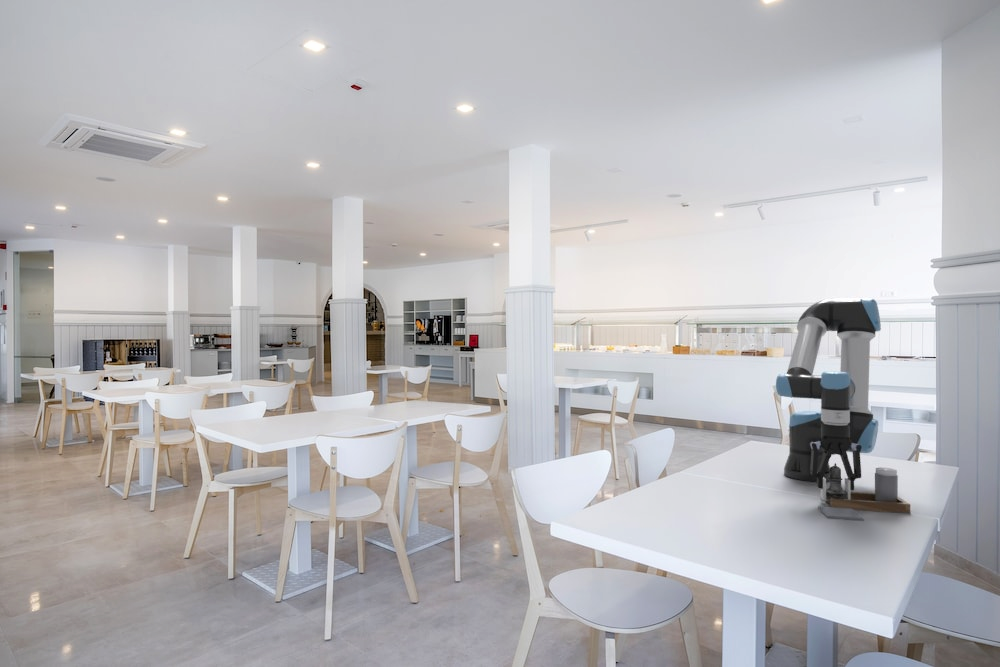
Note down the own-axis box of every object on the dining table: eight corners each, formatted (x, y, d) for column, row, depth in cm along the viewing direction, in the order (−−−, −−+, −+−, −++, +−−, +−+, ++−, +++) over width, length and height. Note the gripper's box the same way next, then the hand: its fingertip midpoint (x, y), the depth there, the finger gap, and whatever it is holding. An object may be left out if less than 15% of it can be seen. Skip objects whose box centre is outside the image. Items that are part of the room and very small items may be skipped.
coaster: (817, 508, 168) (817, 506, 168) (852, 510, 166) (852, 508, 166) (827, 517, 160) (827, 515, 160) (863, 520, 157) (863, 518, 157)
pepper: (871, 503, 173) (871, 466, 173) (892, 504, 172) (892, 467, 172) (879, 508, 168) (879, 471, 168) (901, 510, 166) (901, 472, 166)
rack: (820, 498, 179) (820, 490, 179) (894, 502, 174) (894, 494, 174) (831, 508, 169) (831, 499, 169) (910, 513, 164) (910, 504, 164)
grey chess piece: (850, 506, 170) (849, 465, 170) (828, 505, 171) (828, 465, 171) (842, 500, 176) (842, 461, 176) (821, 499, 177) (821, 460, 177)
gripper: (804, 424, 172) (804, 501, 172) (875, 426, 167) (875, 506, 167) (797, 420, 179) (797, 494, 179) (865, 422, 175) (865, 498, 175)
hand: (835, 500), depth 173 cm, fingers closed on grey chess piece, 6 cm apart
